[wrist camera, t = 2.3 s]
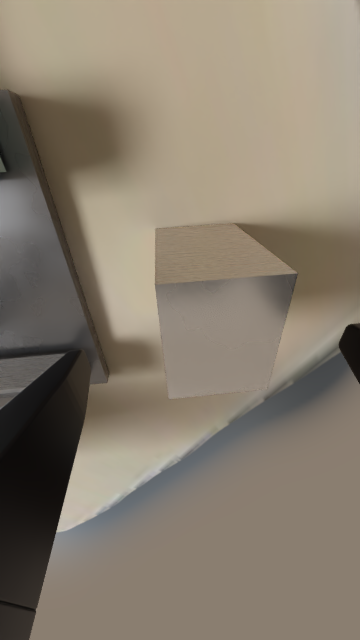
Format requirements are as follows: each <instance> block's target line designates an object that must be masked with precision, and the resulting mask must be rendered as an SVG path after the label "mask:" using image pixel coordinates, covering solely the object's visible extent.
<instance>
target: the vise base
mask: <svg viewBox="0 0 360 640" xmlns="http://www.w3.org/2000/svg"><path fill="white" fill-rule="evenodd" d="M0 157H1V160H2V162H3V165H4V167H5V170H6V172H0V409H1V408H2V407H3V406H4V405H5V404H7V403H8V402H9V401H10V400H11V399H13V398H14V397H15V396H16V395H17V394H19V393H20V392H21V391H22V390H23V389H24V388H26V387H27V386H28V385H29V384H30V383H32V382H33V381H34V380H35V379H36V378H37V377H39V376H40V375H41V374H42V373H43V372H45V371H46V370H47V369H48V368H49V367H51V366H52V365H53V364H54V363H55V362H56V361H58V360H59V359H60V358H61V357H62V356H64V355H65V354H66V353H67V352H68V351H70V350H79V349H82V350H84V352H85V354H86V357H87V359H88V362H89V364H90V367H91V377H90V384H98V383H107V382H108V377H109V372H108V369H107V366H106V363H105V360H104V356H103V353H102V350H101V347H100V344H99V341H98V338H97V335H96V332H95V329H94V326H93V322H92V319H91V316H90V313H89V310H88V307H87V304H86V301H85V298H84V295H83V291H82V288H81V285H80V282H79V279H78V276H77V273H76V270H75V267H74V264H73V261H72V257H71V254H70V251H69V248H68V245H67V242H66V239H65V236H64V233H63V230H62V227H61V223H60V220H59V217H58V214H57V211H56V208H55V205H54V202H53V199H52V196H51V193H50V189H49V186H48V183H47V180H46V177H45V174H44V171H43V168H42V165H41V162H40V159H39V155H38V152H37V149H36V146H35V143H34V140H33V137H32V134H31V131H30V128H29V125H28V121H27V118H26V115H25V112H24V109H23V106H22V103H21V100H20V97H19V95H17V94H15V93H13V92H11V91H9V90H0Z"/></svg>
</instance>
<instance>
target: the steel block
mask: <svg viewBox="0 0 360 640" xmlns="http://www.w3.org/2000/svg"><path fill="white" fill-rule="evenodd" d="M297 275H298V273H297V272H296V271H294V270H293V269H292V268H290V267H289V266H288V265H287V264H285V263H284V262H283V261H281V260H280V259H279V258H278V257H276V256H275V255H274V254H272V253H271V252H270V251H269V250H267V249H266V248H265V247H263V246H262V245H261V244H260V243H258V242H257V241H256V240H254V239H253V238H252V237H250V236H249V235H248V234H247V233H245V232H244V231H243V230H241V229H240V228H239V227H238V226H236V225H235V224H234V223H229V224H215V225H201V226H186V227H172V228H157V229H155V289H156V297H157V306H158V314H159V322H160V331H161V339H162V348H163V356H164V364H165V373H166V381H167V390H168V398H169V399H177V398H187V397H196V396H206V395H216V394H225V393H235V392H245V391H254V390H264V389H267V388H268V385H269V381H270V377H271V373H272V370H273V366H274V362H275V358H276V354H277V351H278V347H279V343H280V339H281V335H282V332H283V328H284V324H285V320H286V316H287V313H288V309H289V305H290V301H291V297H292V294H293V290H294V286H295V282H296V279H297Z"/></svg>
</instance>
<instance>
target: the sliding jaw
mask: <svg viewBox="0 0 360 640" xmlns="http://www.w3.org/2000/svg"><path fill="white" fill-rule="evenodd" d="M0 172H6V170H5V167H4V165H3V162H2V160H1V157H0Z"/></svg>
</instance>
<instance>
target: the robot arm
mask: <svg viewBox="0 0 360 640" xmlns="http://www.w3.org/2000/svg"><path fill="white" fill-rule="evenodd" d="M339 348H340V351H341V352H342V354H343V356H344V358H345V359H346V361H347V363H348V364H349V366H350V368H351V370H352V372H353V373H354V375H355V377H356V378H357V380H358V382H359V384H360V323H358V324H350V325H348V326H347V327H346V328H345V330H344V333H343V335H342V337H341V339H340V341H339ZM90 377H91V367H90V364H89V362H88V359H87V357H86V354H85V352H84V350H82V349H79V350H70V351H68V352H67V353H66V354H65V355H64V356H62V357H61V358H60V359H59V360H58V361H56V362H55V363H54V364H53V365H52V366H51V367H49V368H48V369H47V370H46V371H45V372H43V373H42V374H41V375H40V376H39V377H37V378H36V379H35V380H34V381H33V382H32V383H30V384H29V385H28V386H27V387H26V388H24V389H23V390H22V391H21V392H20V393H19V394H17V395H16V396H15V397H14V398H13V399H11V400H10V401H9V402H8V403H7V404H5V405H4V406H3V407H2V408H1V409H0V640H29V638H30V634H31V630H32V626H33V622H34V618H35V614H36V610H35V609H36V608H37V605H38V601H39V598H40V593H41V590H42V586H43V582H44V578H45V574H46V570H47V566H48V562H49V558H50V554H51V550H52V546H53V542H54V538H55V534H56V530H57V526H58V522H59V519H60V515H61V511H62V507H63V503H64V499H65V495H66V491H67V487H68V483H69V479H70V475H71V471H72V467H73V463H74V459H75V455H76V451H77V447H78V443H79V439H80V435H81V432H82V428H83V423H84V419H85V414H86V407H87V400H88V392H89V384H90Z"/></svg>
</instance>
